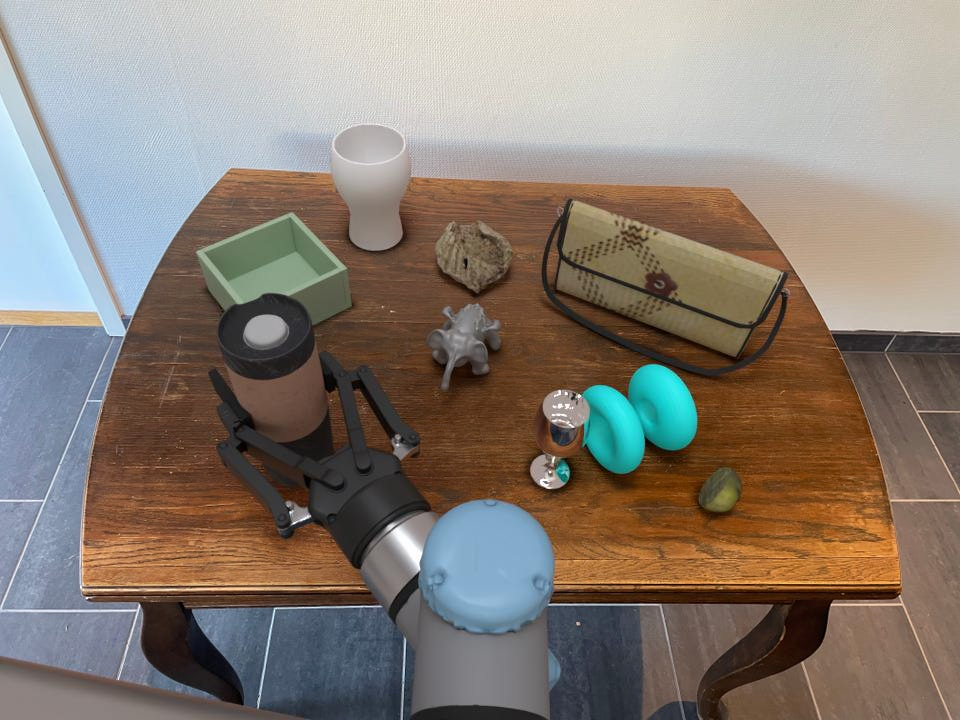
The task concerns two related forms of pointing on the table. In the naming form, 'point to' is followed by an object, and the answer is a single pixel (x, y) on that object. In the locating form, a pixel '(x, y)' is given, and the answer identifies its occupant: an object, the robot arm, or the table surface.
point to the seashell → (473, 254)
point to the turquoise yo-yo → (639, 418)
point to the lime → (721, 490)
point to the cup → (371, 181)
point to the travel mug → (278, 375)
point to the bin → (277, 268)
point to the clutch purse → (663, 283)
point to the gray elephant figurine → (464, 340)
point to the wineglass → (559, 436)
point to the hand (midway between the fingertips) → (256, 359)
